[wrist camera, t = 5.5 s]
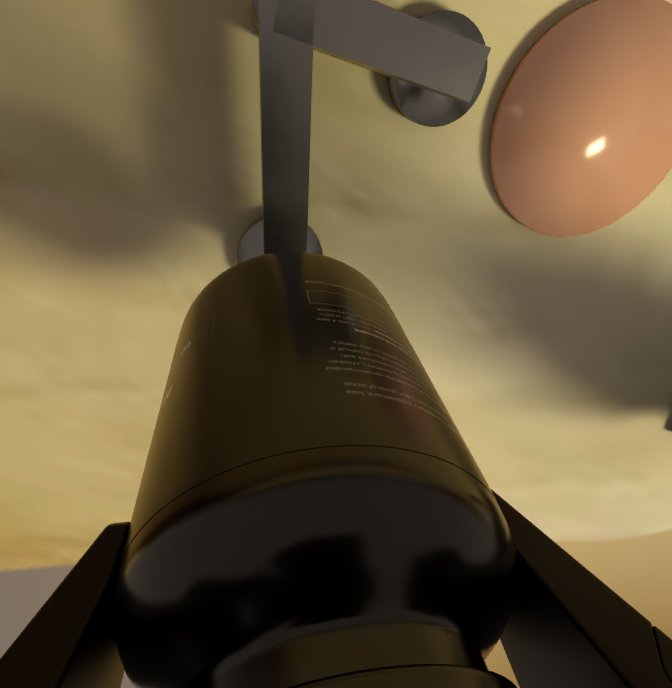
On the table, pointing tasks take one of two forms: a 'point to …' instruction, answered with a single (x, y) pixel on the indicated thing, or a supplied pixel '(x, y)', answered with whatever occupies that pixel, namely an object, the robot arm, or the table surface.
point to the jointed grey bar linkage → (360, 49)
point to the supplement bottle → (308, 502)
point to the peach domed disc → (587, 118)
